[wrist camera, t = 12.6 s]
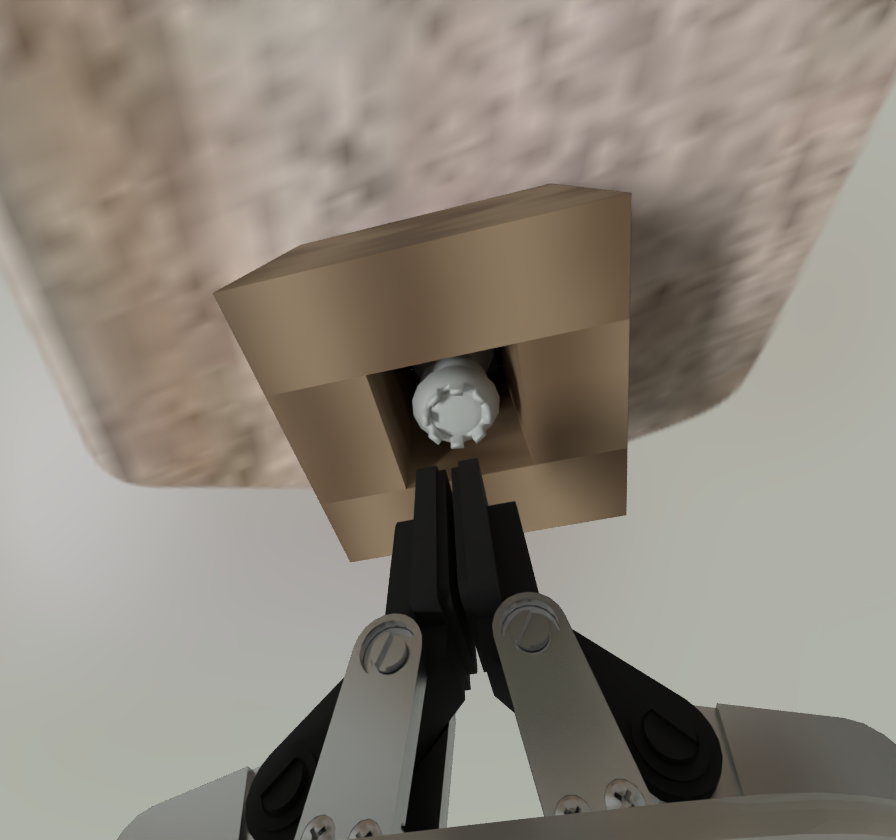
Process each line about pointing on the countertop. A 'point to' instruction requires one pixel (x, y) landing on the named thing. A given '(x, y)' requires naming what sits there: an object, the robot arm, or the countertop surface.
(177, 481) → the countertop surface
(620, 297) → the socket block
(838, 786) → the robot arm
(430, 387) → the rook chess piece
